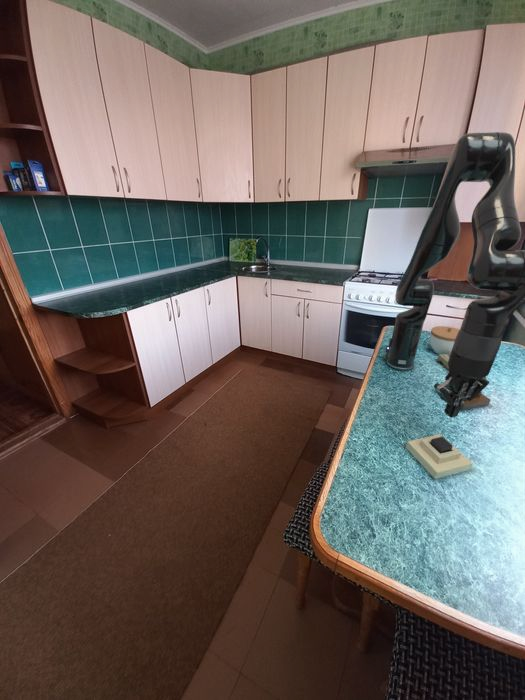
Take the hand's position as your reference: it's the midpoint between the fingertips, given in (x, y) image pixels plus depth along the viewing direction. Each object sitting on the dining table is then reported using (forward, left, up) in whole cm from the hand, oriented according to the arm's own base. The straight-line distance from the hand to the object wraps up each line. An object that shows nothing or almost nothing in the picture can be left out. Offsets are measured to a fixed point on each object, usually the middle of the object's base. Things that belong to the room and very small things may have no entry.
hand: (450, 414), depth 68 cm
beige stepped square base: (+2, -2, -12) cm, 12 cm away
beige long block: (-30, +37, -12) cm, 50 cm away
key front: (+2, -2, -8) cm, 9 cm away
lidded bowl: (-44, +43, -12) cm, 63 cm away
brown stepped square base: (-16, +24, -12) cm, 32 cm away
